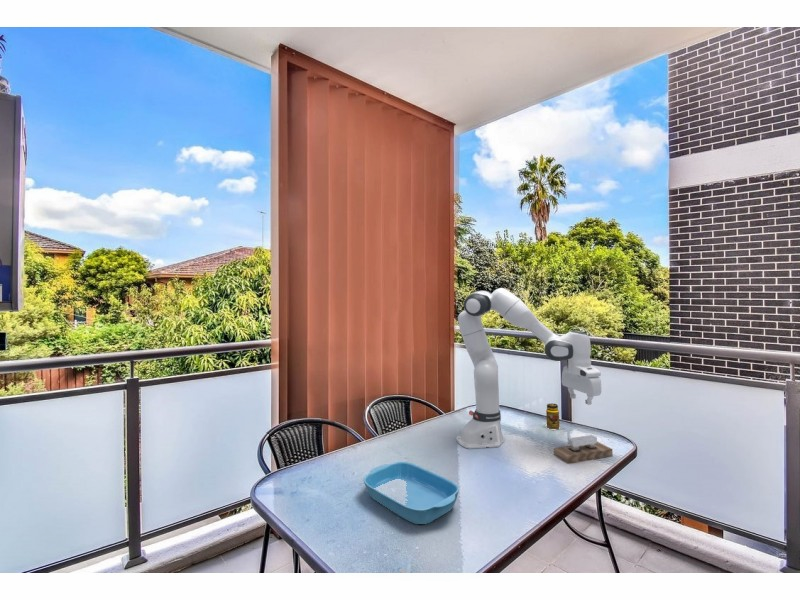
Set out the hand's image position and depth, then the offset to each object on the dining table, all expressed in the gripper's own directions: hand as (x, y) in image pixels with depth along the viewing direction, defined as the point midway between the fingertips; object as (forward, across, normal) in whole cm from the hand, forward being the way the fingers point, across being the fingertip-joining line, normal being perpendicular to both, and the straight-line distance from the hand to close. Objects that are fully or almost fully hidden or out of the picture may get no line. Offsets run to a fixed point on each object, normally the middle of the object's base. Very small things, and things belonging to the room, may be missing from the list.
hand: (580, 401), depth 162 cm
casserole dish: (+24, +12, -80) cm, 84 cm away
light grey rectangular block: (+23, +1, 0) cm, 23 cm away
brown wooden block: (+23, +1, 0) cm, 23 cm away
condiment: (+24, -32, +9) cm, 41 cm away
